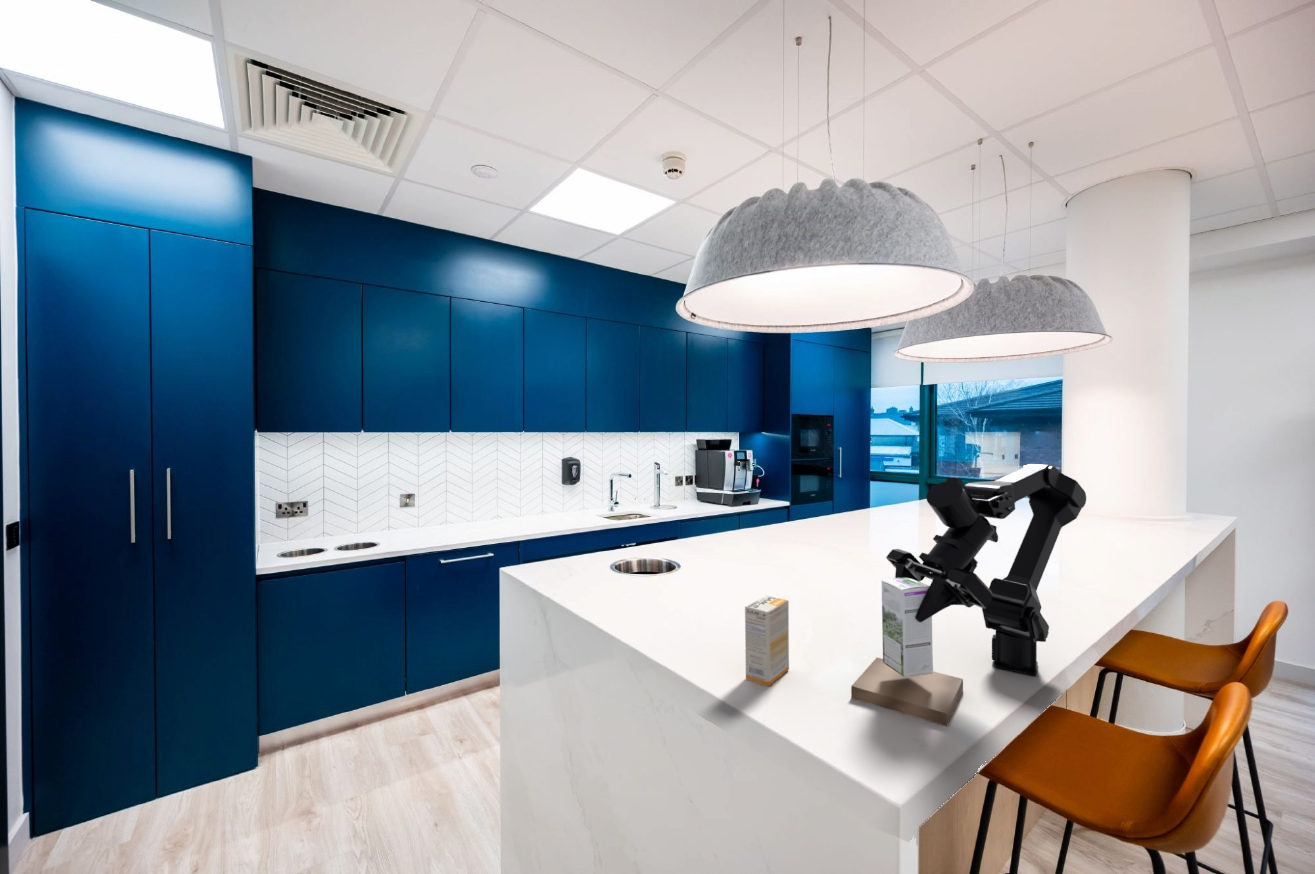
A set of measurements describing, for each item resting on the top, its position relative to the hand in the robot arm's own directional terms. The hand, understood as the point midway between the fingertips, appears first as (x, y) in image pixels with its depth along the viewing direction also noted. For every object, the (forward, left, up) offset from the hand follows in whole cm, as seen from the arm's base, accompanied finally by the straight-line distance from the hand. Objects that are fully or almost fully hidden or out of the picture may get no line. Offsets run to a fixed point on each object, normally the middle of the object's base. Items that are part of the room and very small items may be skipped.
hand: (904, 614), depth 90 cm
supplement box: (+22, +7, -13) cm, 26 cm away
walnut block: (0, 0, -14) cm, 14 cm away
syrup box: (0, 0, -9) cm, 9 cm away
